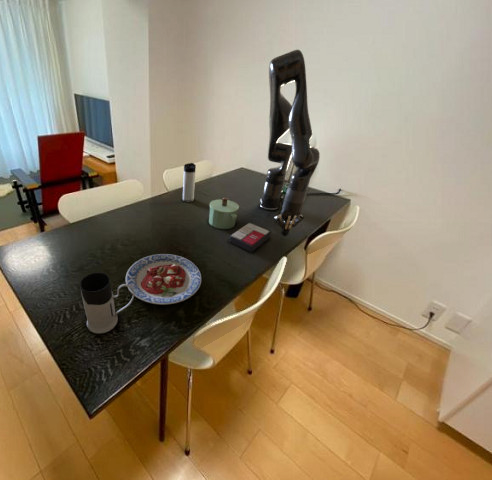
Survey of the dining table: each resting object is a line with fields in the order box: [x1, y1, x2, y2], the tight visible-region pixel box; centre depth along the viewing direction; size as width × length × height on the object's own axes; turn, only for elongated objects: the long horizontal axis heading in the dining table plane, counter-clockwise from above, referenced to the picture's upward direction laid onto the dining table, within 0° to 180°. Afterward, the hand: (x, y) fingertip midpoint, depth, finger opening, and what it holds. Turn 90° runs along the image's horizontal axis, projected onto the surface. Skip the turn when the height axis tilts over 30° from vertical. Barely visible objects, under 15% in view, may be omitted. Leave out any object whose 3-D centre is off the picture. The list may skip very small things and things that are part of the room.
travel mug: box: [182, 162, 197, 203], centre depth 144 cm, size 6×7×20 cm
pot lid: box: [209, 196, 240, 213], centre depth 122 cm, size 14×14×5 cm
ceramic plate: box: [125, 253, 202, 306], centre depth 91 cm, size 26×26×3 cm
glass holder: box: [79, 271, 135, 334], centre depth 73 cm, size 9×14×15 cm, turn 93°
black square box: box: [229, 222, 271, 253], centre depth 114 cm, size 11×4×15 cm
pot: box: [208, 207, 239, 230], centre depth 125 cm, size 13×18×8 cm
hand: (284, 235), depth 116 cm, fingers closed
